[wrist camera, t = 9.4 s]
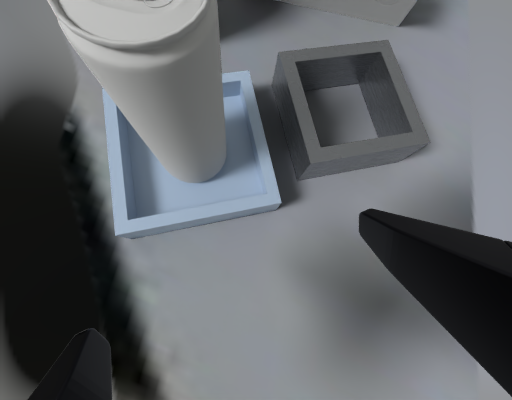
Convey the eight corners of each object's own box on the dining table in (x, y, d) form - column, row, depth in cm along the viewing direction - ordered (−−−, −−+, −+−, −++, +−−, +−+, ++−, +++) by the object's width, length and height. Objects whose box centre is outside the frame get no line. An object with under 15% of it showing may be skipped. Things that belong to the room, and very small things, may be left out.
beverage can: (222, 189, 18) (203, 60, 7) (156, 181, 18) (11, 32, 6) (230, 130, 19) (226, -66, 8) (168, 122, 19) (66, -95, 7)
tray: (275, 210, 19) (281, 202, 16) (131, 239, 17) (115, 235, 15) (247, 92, 21) (248, 70, 19) (118, 109, 20) (102, 87, 17)
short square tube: (398, 161, 21) (430, 142, 17) (297, 180, 20) (310, 163, 16) (365, 72, 23) (388, 39, 19) (271, 84, 22) (278, 52, 18)
